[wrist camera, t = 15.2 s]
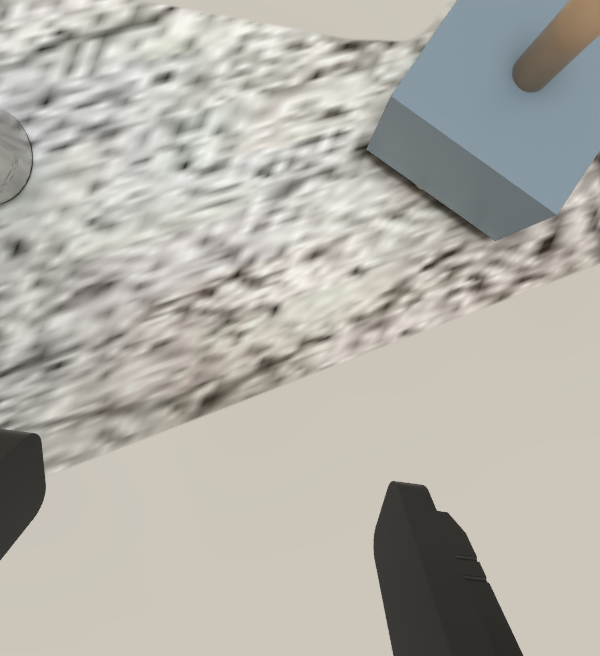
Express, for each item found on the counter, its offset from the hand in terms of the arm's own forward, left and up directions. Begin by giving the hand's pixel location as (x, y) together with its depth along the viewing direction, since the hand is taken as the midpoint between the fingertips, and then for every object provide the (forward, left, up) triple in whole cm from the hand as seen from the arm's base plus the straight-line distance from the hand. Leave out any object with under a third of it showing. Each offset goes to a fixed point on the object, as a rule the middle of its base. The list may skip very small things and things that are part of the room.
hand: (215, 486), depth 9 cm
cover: (+3, +25, -27) cm, 37 cm away
